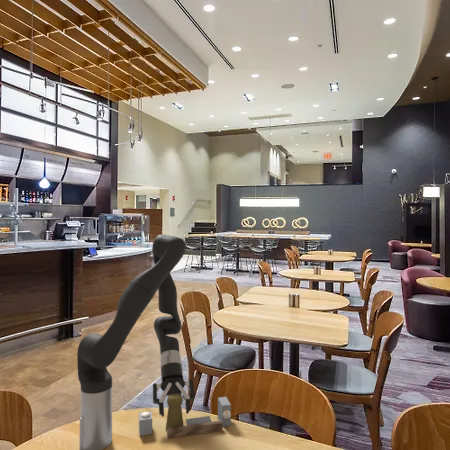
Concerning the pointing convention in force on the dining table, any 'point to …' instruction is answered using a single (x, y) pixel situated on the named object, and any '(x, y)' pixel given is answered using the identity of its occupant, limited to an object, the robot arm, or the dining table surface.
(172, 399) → the olive pawn
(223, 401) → the far end cabinet
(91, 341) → the robot arm
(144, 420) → the near end cabinet
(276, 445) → the dining table surface
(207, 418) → the mat
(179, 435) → the handrail
